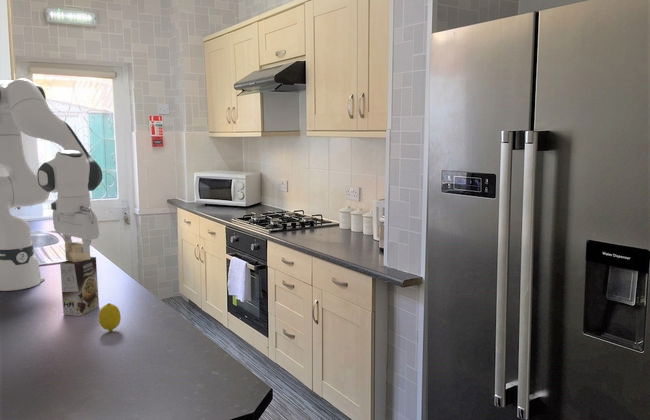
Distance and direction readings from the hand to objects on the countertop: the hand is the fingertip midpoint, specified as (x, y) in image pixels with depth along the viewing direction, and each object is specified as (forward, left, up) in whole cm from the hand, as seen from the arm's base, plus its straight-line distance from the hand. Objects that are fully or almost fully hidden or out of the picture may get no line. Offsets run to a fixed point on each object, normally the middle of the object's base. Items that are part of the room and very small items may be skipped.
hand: (77, 250), depth 165 cm
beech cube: (0, 0, -3) cm, 3 cm away
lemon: (+23, -4, -19) cm, 30 cm away
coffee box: (0, 0, -19) cm, 19 cm away
